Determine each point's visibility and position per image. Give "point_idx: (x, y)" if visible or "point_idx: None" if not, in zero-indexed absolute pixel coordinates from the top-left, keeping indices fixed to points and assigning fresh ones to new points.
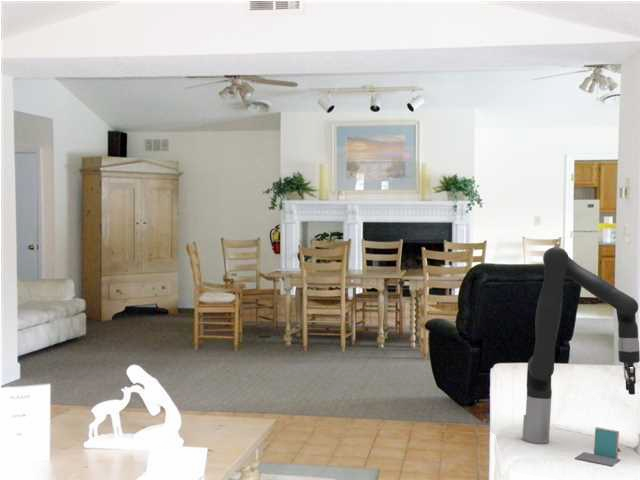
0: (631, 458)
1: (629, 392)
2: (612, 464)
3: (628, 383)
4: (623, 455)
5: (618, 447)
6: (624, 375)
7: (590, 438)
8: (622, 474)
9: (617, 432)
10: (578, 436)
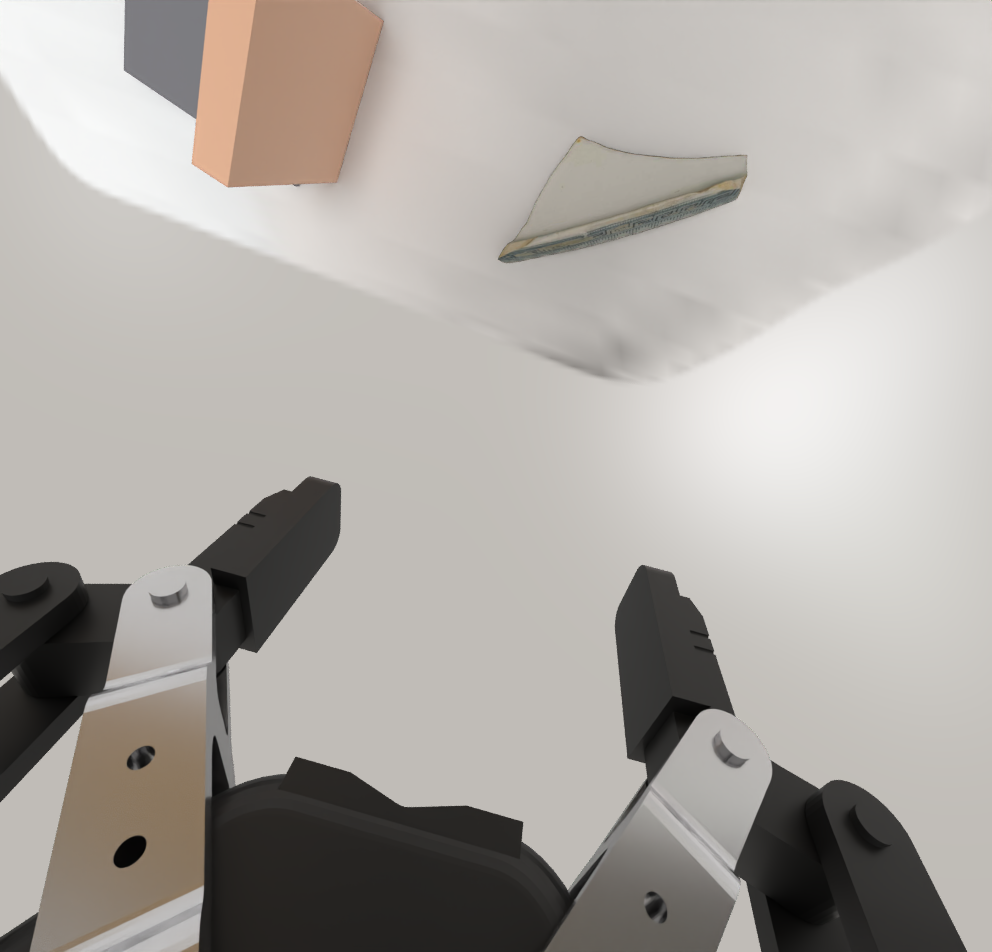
0: (375, 279)
1: (298, 493)
2: (148, 82)
3: (152, 576)
4: (422, 251)
5: (506, 254)
6: (637, 809)
7: (863, 133)
8: (15, 96)
9: (195, 160)
10: (961, 8)
